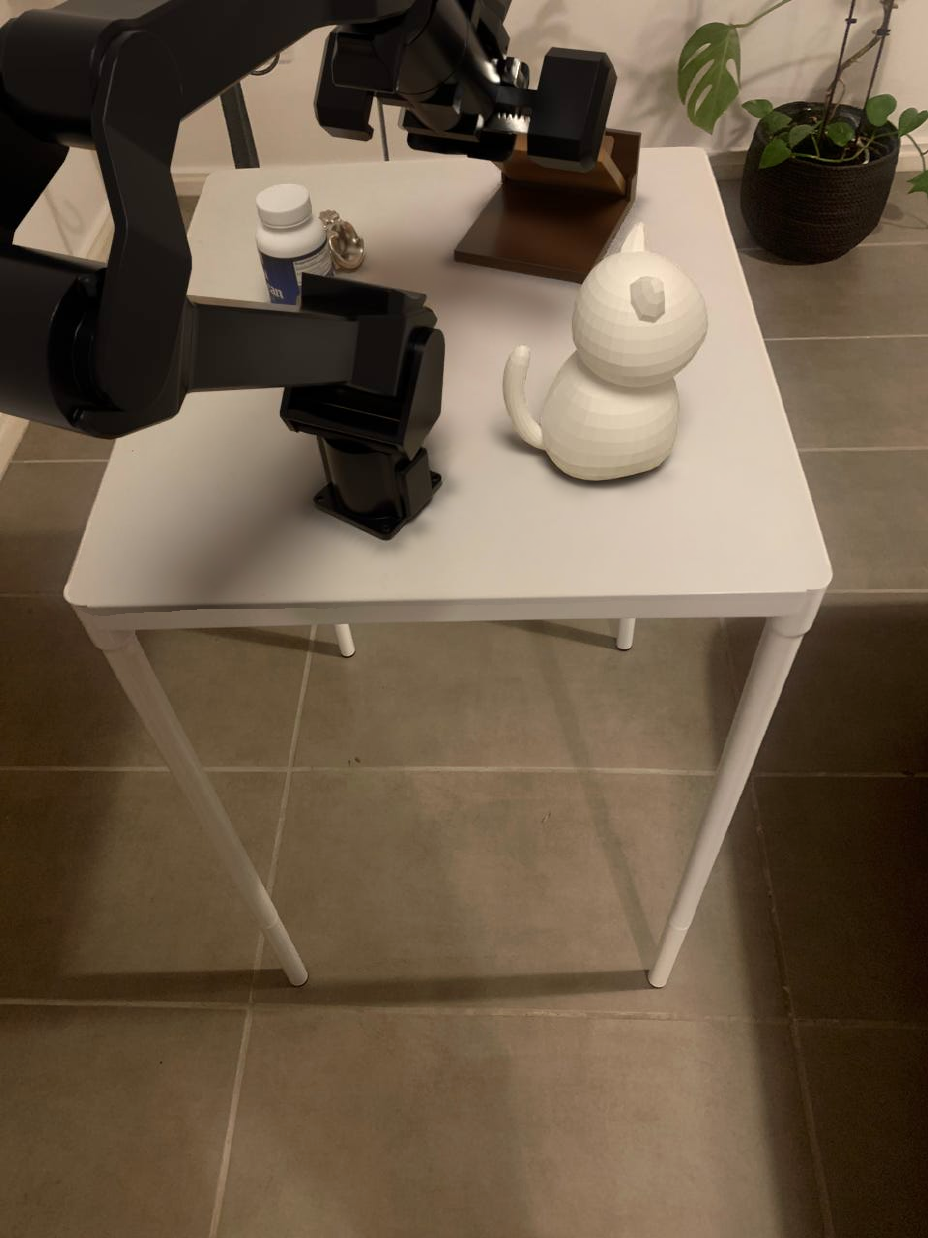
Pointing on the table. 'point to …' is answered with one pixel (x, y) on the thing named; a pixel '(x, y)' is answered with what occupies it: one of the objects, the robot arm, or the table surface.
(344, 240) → the ornament
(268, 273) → the pill bottle
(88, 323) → the robot arm
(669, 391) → the cat figurine
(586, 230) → the stand
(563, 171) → the wooden letter rack
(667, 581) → the table surface
